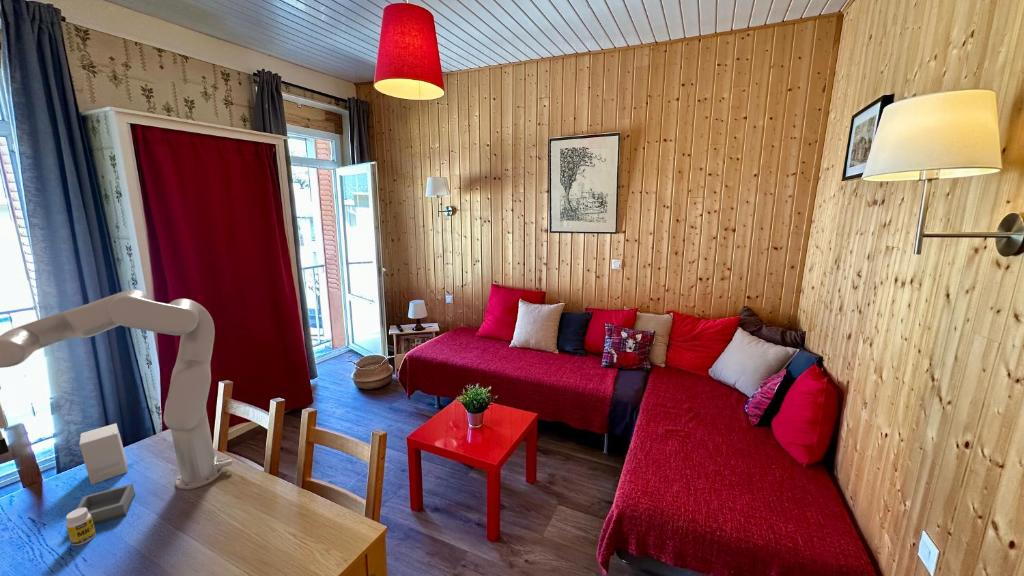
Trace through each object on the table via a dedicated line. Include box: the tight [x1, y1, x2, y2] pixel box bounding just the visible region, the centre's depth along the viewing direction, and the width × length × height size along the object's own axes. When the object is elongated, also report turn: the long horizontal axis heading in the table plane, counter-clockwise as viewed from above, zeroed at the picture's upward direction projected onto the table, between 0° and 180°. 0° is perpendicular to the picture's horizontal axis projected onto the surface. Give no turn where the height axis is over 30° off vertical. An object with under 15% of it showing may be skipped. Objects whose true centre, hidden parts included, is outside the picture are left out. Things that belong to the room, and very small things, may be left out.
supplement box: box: [78, 422, 128, 485], centre depth 137 cm, size 9×9×15 cm
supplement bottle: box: [65, 508, 97, 546], centre depth 111 cm, size 5×5×8 cm
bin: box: [76, 483, 136, 526], centre depth 121 cm, size 11×10×4 cm
